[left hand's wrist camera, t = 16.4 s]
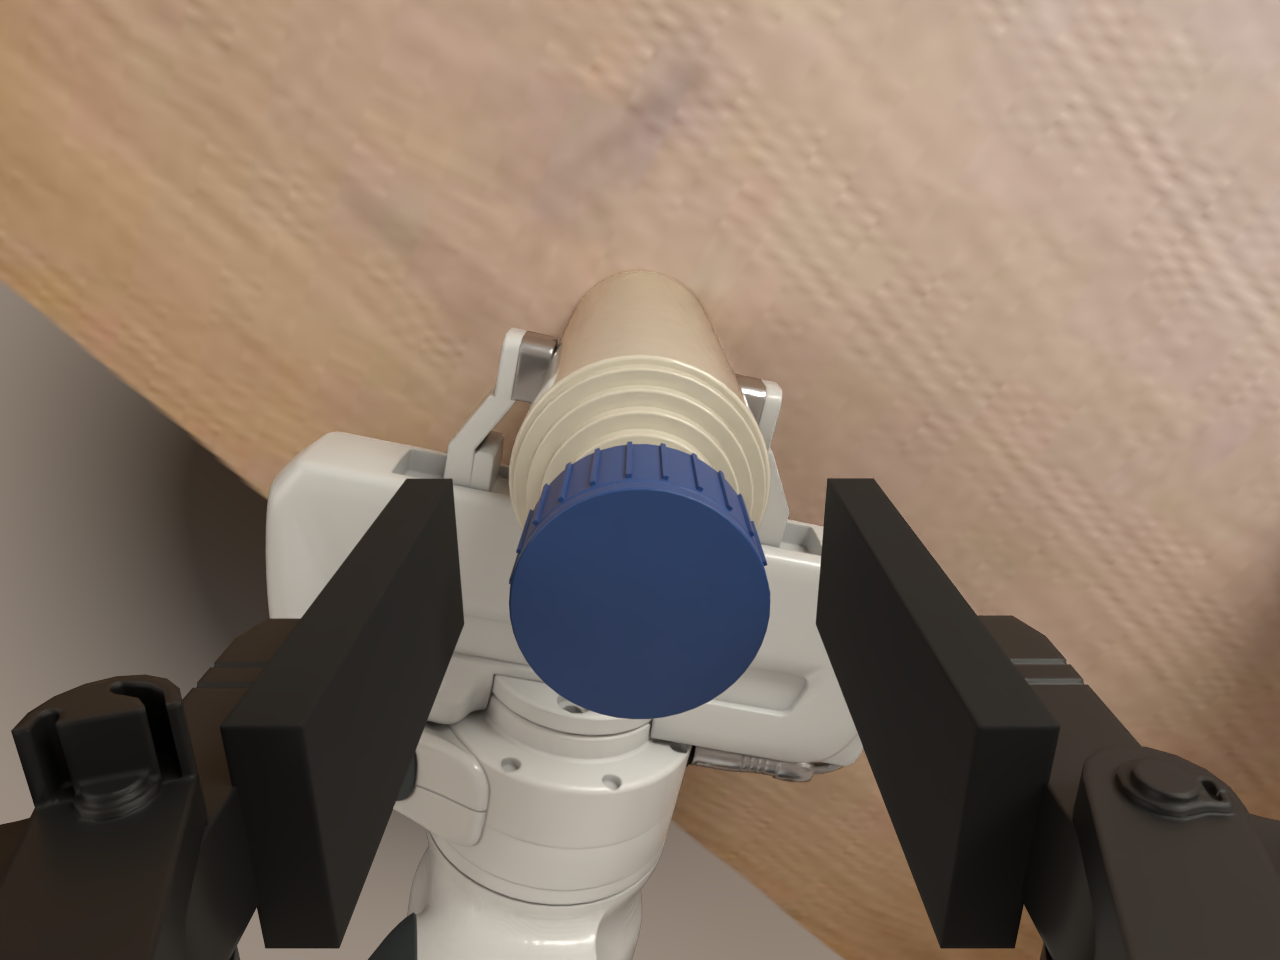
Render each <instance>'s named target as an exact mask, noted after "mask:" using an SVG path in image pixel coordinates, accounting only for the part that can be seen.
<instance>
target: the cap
mask: <svg viewBox="0 0 1280 960" xmlns="http://www.w3.org/2000/svg"><path fill="white" fill-rule="evenodd" d="M516 553H518V554H517V557H516V560H515V563H514V566H513V569H512V573H511V576H510V579H509V584H511V585H510V594H509V612H510V621H511V625H512V630H513V634H514V636H515V639H516V642H517V644H518V647H519V649H520V650H521V652H522V654H523V656H524V658H525V660H526V661H527V663H528V664H529V665H530V667H531V668H532V669H533V671H534V672H535V673H536V674H537V675H538V676H539V678H540V679H541V680H542V681H543V682H544V683H545V684H546V685H547V686H549V687H550V688H551V689H552V690H554V691H555V692H556V693H557V694H559V695H560V696H562V697H564V698H565V699H567V700H568V701H570V702H572V703H574V704H576V705H578V706H580V707H582V708H584V709H587V710H590V711H593V712H596V713H599V714H602V715H607V716H611V717H616V718H625V719H654V718H663V717H668V716H672V715H677V714H681V713H684V712H686V711H689V710H692V709H695V708H697V707H699V706H701V705H703V704H705V703H707V702H709V701H711V700H713V699H714V698H716V697H717V696H719V695H720V694H722V693H723V692H724V691H726V690H727V689H728V688H729V687H730V686H732V685H733V684H734V683H735V682H736V681H737V680H738V679H739V678H740V677H741V676H742V675H743V674H744V672H745V671H746V670H747V669H748V667H749V666H750V664H751V663H752V661H753V660H754V659H755V657H756V655H757V653H758V651H759V649H760V647H761V645H762V643H763V640H764V637H765V634H766V631H767V627H768V622H769V617H770V589H769V584H768V580H767V576H766V572H765V568H764V566H767V561H766V558H765V555H764V552H763V549H762V546H761V543H760V540H759V536H758V533H757V530H756V527H755V524H754V521H750V518H749V514H748V511H747V508H746V505H745V502H744V499H743V496H742V495H741V493H740V494H739V495H737V493H736V492H735V490H734V489H733V488H732V487H731V485H730V484H729V483H728V482H727V481H726V480H725V477H724V474H723V472H722V471H721V470H719V471H718V472H717V471H716V470H714V469H713V468H712V467H710V466H709V465H708V464H706V463H705V462H703V461H701V460H699V459H698V458H697V455H696V454H694V453H692V454H691V455H690V454H687V453H685V452H682V451H679V450H677V449H673V448H669V447H666V444H664V443H661V444H660V446H659V445H651V444H632V441H631V442H627V445H621V446H614V447H610V448H607V449H603V450H600V448H597V449H595V451H594V453H592V454H590V455H587V456H585V457H583V458H582V459H580V460H578V461H576V462H575V463H573V464H571V463H570V462H569V463H568V464H566V467H565V470H564V471H562V472H561V473H560V474H559V475H558V476H557V477H556V478H555V479H554V480H553V481H552V482H551V483H550V484H549V485H548V484H547V483H546V484H545V485H544V486H543V490H542V493H541V496H540V499H539V500H538V502H537V504H536V506H535V508H534V510H531V509H530V511H529V513H528V516H527V519H526V522H525V525H524V528H523V532H522V535H521V538H520V541H519V544H518V547H517V550H516Z"/></svg>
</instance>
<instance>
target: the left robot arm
mask: <svg viewBox="0 0 1280 960" xmlns="http://www.w3.org/2000/svg"><path fill="white" fill-rule="evenodd" d="M463 626H464V612H463V600H462V588H461V576H460V564H459V552H458V540H457V528H456V515H455V503H454V491H453V479H406V480H405V481H404V483H403V484H402V485H401V486H400V488H399V489H398V490H397V492H396V493H395V494H394V496H393V497H392V498H391V500H390V501H389V502H388V504H387V505H386V506H385V508H384V509H383V510H382V512H381V513H380V514H379V516H378V517H377V518H376V520H375V521H374V522H373V524H372V525H371V526H370V528H369V529H368V530H367V532H366V533H365V534H364V535H363V537H362V538H361V539H360V541H359V542H358V543H357V545H356V546H355V547H354V549H353V550H352V551H351V553H350V554H349V555H348V557H347V558H346V559H345V561H344V562H343V563H342V565H341V566H340V567H339V569H338V570H337V571H336V573H335V574H334V575H333V577H332V578H331V579H330V580H329V582H328V583H327V584H326V586H325V587H324V588H323V590H322V591H321V592H320V594H319V595H318V596H317V598H316V599H315V600H314V602H313V603H312V604H311V606H310V607H309V608H308V610H307V611H306V612H305V614H304V615H303V616H302V618H268V619H267V620H265V621H263V622H262V623H260V624H258V625H257V626H255V627H254V628H252V629H250V630H249V631H247V632H245V633H244V634H242V635H241V636H239V637H237V638H236V639H235V640H234V641H233V642H232V643H231V644H230V645H229V647H228V648H227V649H226V650H225V651H224V652H223V654H222V655H221V656H220V657H219V658H218V659H217V660H216V662H215V665H214V668H210V669H209V670H208V671H207V672H206V673H205V674H204V675H203V677H202V678H201V679H200V680H199V681H198V683H197V688H192V689H191V691H190V692H189V693H188V694H187V695H186V696H185V698H184V699H183V700H182V697H181V693H180V688H178V687H177V686H176V685H174V684H173V683H172V682H171V681H169V680H168V679H166V678H160V677H155V676H149V675H131V676H116V677H112V678H108V679H104V680H99V681H95V682H91V683H87V684H84V685H81V686H79V687H76V688H74V689H71V690H69V691H66V692H64V693H62V694H59V695H57V696H54V697H53V698H51V699H49V700H48V701H46V702H45V703H43V704H41V705H40V706H38V707H37V708H35V709H33V710H32V711H30V712H29V713H27V714H26V716H25V717H24V718H23V719H22V720H21V721H20V722H19V723H18V724H17V725H16V726H15V727H14V729H13V730H12V731H11V732H12V735H13V738H14V742H15V745H16V748H17V751H18V754H19V757H20V761H21V764H22V767H23V770H24V774H25V777H26V780H27V783H28V786H29V790H30V793H31V796H32V799H33V803H34V806H35V809H34V811H33V813H32V815H31V817H30V818H28V819H24V820H21V821H16V822H11V823H7V824H2V825H0V960H240V957H239V952H238V948H237V944H238V942H239V940H240V938H241V936H242V934H243V933H244V931H245V929H246V927H247V925H248V923H249V921H250V919H251V917H252V915H253V913H254V912H255V910H256V908H257V910H258V915H259V920H260V924H261V929H262V934H263V939H264V943H265V948H340V945H341V942H342V940H343V937H344V935H345V932H346V929H347V927H348V924H349V922H350V919H351V916H352V914H353V911H354V909H355V906H356V904H357V901H358V898H359V896H360V893H361V891H362V888H363V885H364V883H365V880H366V878H367V875H368V872H369V870H370V867H371V865H372V862H373V859H374V857H375V854H376V852H377V849H378V847H379V844H380V841H381V839H382V836H383V834H384V831H385V828H386V826H387V823H388V821H389V818H390V815H391V813H392V810H393V808H394V805H395V803H396V800H397V797H398V795H399V792H400V790H401V787H402V784H403V782H404V779H405V777H406V774H407V771H408V769H409V766H410V764H411V761H412V759H413V756H414V753H415V751H416V748H417V746H418V743H419V740H420V738H421V735H422V733H423V730H424V727H425V725H426V722H427V720H428V717H429V714H430V712H431V709H432V707H433V704H434V702H435V699H436V696H437V694H438V691H439V689H440V686H441V683H442V681H443V678H444V676H445V673H446V670H447V668H448V665H449V663H450V660H451V658H452V655H453V652H454V650H455V647H456V645H457V642H458V639H459V637H460V634H461V632H462V629H463ZM816 626H817V629H818V632H819V634H820V637H821V639H822V642H823V645H824V647H825V650H826V652H827V655H828V658H829V660H830V663H831V665H832V668H833V670H834V673H835V676H836V678H837V681H838V683H839V686H840V689H841V691H842V694H843V696H844V699H845V702H846V704H847V707H848V709H849V712H850V714H851V717H852V720H853V722H854V725H855V727H856V730H857V733H858V735H859V738H860V740H861V743H862V746H863V748H864V751H865V753H866V756H867V759H868V761H869V764H870V766H871V769H872V771H873V774H874V777H875V779H876V782H877V784H878V787H879V790H880V792H881V795H882V797H883V800H884V803H885V805H886V808H887V810H888V813H889V815H890V818H891V821H892V823H893V826H894V828H895V831H896V834H897V836H898V839H899V841H900V844H901V847H902V849H903V852H904V854H905V857H906V859H907V862H908V865H909V867H910V870H911V872H912V875H913V878H914V880H915V883H916V885H917V888H918V891H919V893H920V896H921V898H922V901H923V904H924V906H925V909H926V911H927V914H928V916H929V919H930V922H931V924H932V927H933V929H934V932H935V935H936V937H937V940H938V942H939V945H940V948H1015V944H1016V939H1017V934H1018V929H1019V924H1020V920H1021V915H1022V910H1023V905H1025V907H1026V909H1027V911H1028V913H1029V915H1030V917H1031V919H1032V921H1033V922H1034V924H1035V926H1036V928H1037V930H1038V932H1039V934H1040V936H1041V938H1042V940H1043V942H1044V943H1043V948H1042V952H1041V957H1040V960H1280V821H1278V820H1273V819H1268V818H1263V817H1260V816H1256V815H1252V814H1249V813H1248V811H1247V809H1246V807H1245V806H1244V804H1243V803H1242V802H1241V801H1240V799H1239V798H1238V797H1237V795H1236V794H1235V793H1234V792H1233V790H1232V789H1231V788H1230V787H1229V786H1228V785H1226V784H1225V783H1224V782H1222V781H1221V780H1220V779H1218V778H1217V777H1216V776H1214V775H1213V774H1211V773H1210V772H1209V771H1207V770H1206V769H1204V768H1202V767H1200V766H1198V765H1196V764H1194V763H1192V762H1189V761H1187V760H1185V759H1183V758H1181V757H1179V756H1177V755H1173V754H1170V753H1166V752H1163V751H1159V750H1155V749H1152V748H1148V747H1142V746H1141V745H1140V744H1139V743H1138V742H1137V741H1136V740H1135V738H1134V737H1133V736H1132V735H1131V734H1130V733H1129V732H1128V730H1127V729H1126V728H1125V727H1124V726H1123V725H1122V723H1121V722H1120V721H1119V720H1118V719H1117V718H1116V717H1115V715H1114V714H1113V713H1112V712H1111V711H1110V710H1109V709H1108V707H1107V706H1106V705H1105V704H1104V703H1103V702H1102V700H1101V699H1100V698H1099V697H1098V696H1097V695H1096V694H1095V692H1094V691H1093V690H1092V689H1091V688H1090V687H1089V686H1088V685H1084V683H1083V679H1082V677H1081V676H1080V675H1079V674H1078V673H1077V672H1076V671H1075V669H1074V668H1073V667H1072V666H1071V665H1067V664H1066V659H1065V658H1064V657H1063V656H1062V654H1061V653H1060V652H1059V651H1058V650H1057V649H1056V648H1055V646H1054V645H1053V644H1052V643H1051V642H1050V641H1049V639H1048V638H1047V637H1046V636H1045V635H1043V634H1041V633H1040V632H1038V631H1036V630H1035V629H1033V628H1032V627H1030V626H1028V625H1027V624H1025V623H1023V622H1022V621H1020V620H1018V619H1017V618H1015V617H1014V616H977V615H976V614H975V612H974V611H973V610H972V608H971V607H970V606H969V604H968V603H967V602H966V600H965V599H964V598H963V596H962V595H961V594H960V592H959V591H958V590H957V588H956V587H955V586H954V584H953V583H952V582H951V580H950V579H949V578H948V577H947V575H946V574H945V573H944V571H943V570H942V569H941V567H940V566H939V565H938V563H937V562H936V561H935V559H934V558H933V557H932V555H931V554H930V553H929V551H928V550H927V549H926V547H925V546H924V545H923V543H922V542H921V541H920V539H919V538H918V537H917V535H916V534H915V533H914V531H913V530H912V529H911V528H910V526H909V525H908V524H907V522H906V521H905V520H904V518H903V517H902V516H901V514H900V513H899V512H898V510H897V509H896V508H895V506H894V505H893V504H892V502H891V501H890V500H889V498H888V497H887V496H886V494H885V493H884V492H883V490H882V489H881V488H880V486H879V485H878V484H877V483H876V481H875V480H874V479H827V491H826V503H825V515H824V528H823V540H822V552H821V564H820V576H819V588H818V600H817V612H816Z"/></svg>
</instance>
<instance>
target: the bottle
mask: <svg viewBox="0 0 1280 960" xmlns="http://www.w3.org/2000/svg"><path fill="white" fill-rule="evenodd" d="M631 441H632V444H651V445H659V446H660V444H661V443H664V444H666V447H669V448H673V449H677V450H679V451H682V452H685V453H687V454H690V455H691V454H692V453H694V454H696V455H697V458H698V459H699V460H701V461H703V462H705V463H706V464H708V465H709V466H710V467H712V468H713V469H714V470H716V471H717V472H718V471H719V470H721V471H722V472H723V474H724V477H725V480H726V481H727V482H728V483H729V484H730V485H731V487H732V488H733V489H734V490H735V492H736V493H737V495H739V494H740V493H741V495H742V496H743V499H744V502H745V505H746V508H747V511H748V514H749V518H750V521H754V524H755V527H756V530H757V531H758V529H759V527H760V524H761V522H762V520H763V517H764V514H765V511H766V507H767V503H768V499H769V491H770V463H769V457H768V451H767V448H766V444H765V441H764V438H763V435H762V433H761V431H760V429H759V426H758V424H757V422H756V420H755V418H754V416H753V413H752V411H751V409H750V407H749V405H748V403H747V400H746V398H745V396H744V394H743V392H742V390H741V388H740V385H739V383H738V381H737V379H736V377H735V375H734V372H733V370H732V368H731V366H730V364H729V362H728V360H727V357H726V355H725V353H724V351H723V349H722V347H721V344H720V342H719V340H718V338H717V336H716V334H715V332H714V329H713V327H712V325H711V323H710V321H709V319H708V316H707V314H706V312H705V310H704V308H703V307H702V305H701V303H700V302H699V300H698V299H697V298H696V297H695V296H694V294H693V293H692V292H691V291H690V290H688V289H687V288H686V287H685V286H684V285H682V284H681V283H679V282H678V281H676V280H674V279H672V278H670V277H668V276H666V275H663V274H660V273H655V272H651V271H629V272H624V273H619V274H616V275H613V276H611V277H609V278H607V279H605V280H603V281H601V282H600V283H598V284H597V285H595V286H594V287H593V288H592V289H591V290H590V291H588V292H587V293H586V295H585V296H584V297H583V298H582V299H581V301H580V302H579V304H578V305H577V307H576V308H575V310H574V313H573V315H572V317H571V319H570V321H569V323H568V325H567V328H566V330H565V332H564V334H563V336H562V338H561V341H560V343H559V345H558V347H557V349H556V351H555V353H554V356H553V358H552V360H551V362H550V364H549V366H548V369H547V371H546V373H545V375H544V377H543V379H542V382H541V384H540V386H539V388H538V390H537V392H536V394H535V397H534V399H533V401H532V403H531V405H530V407H529V410H528V412H527V414H526V416H525V418H524V420H523V423H522V425H521V427H520V429H519V431H518V433H517V436H516V439H515V442H514V445H513V448H512V452H511V458H510V464H509V490H510V498H511V502H512V506H513V510H514V514H515V516H516V519H517V521H518V524H519V526H520V529H521V530H522V532H523V528H524V525H525V522H526V519H527V516H528V513H529V511H530V509H531V510H534V508H535V506H536V504H537V502H538V500H539V499H540V496H541V493H542V490H543V486H544V485H545V484H546V483H547V484H548V485H549V484H550V483H551V482H552V481H553V480H554V479H555V478H556V477H557V476H558V475H559V474H560V473H561V472H562V471H564V470H565V467H566V464H568V463H569V462H570V463H571V464H573V463H575V462H576V461H578V460H580V459H582V458H583V457H585V456H587V455H590V454H592V453H594V451H595V449H597V448H600V450H603V449H607V448H610V447H614V446H621V445H627V442H631Z"/></svg>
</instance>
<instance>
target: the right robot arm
mask: <svg viewBox="0 0 1280 960" xmlns="http://www.w3.org/2000/svg"><path fill="white" fill-rule="evenodd" d="M557 346H558V337H553V336H549V335H544V334H540V333H536V332H531V331H527V330H523V329H517V328H510V329H509V330H508V332H507V333H506V335H505V338H504V342H503V346H502V350H501V356H500V362H499V369H498V375H497V382H496V386H495V387H494V388H493V389H492V390H491V392H490V393H489V394H488V395H487V396H486V398H485V399H484V400H483V401H482V402H481V403H480V405H479V406H478V407H477V408H476V409H475V410H474V412H473V413H472V414H471V415H470V416H469V418H468V419H467V420H466V421H465V422H464V423H463V425H462V426H461V427H460V429H459V430H458V432H457V433H456V435H455V436H454V437H453V439H452V440H451V442H450V443H449V445H448V451H447V453H446V452H441V451H436V450H431V449H426V448H421V447H416V446H411V445H406V444H400V443H395V442H390V441H385V440H380V439H375V438H370V437H365V436H360V435H355V434H350V433H345V432H330V433H327V434H325V435H323V436H322V437H320V438H319V439H317V440H316V441H315V442H313V443H312V444H310V445H309V446H307V447H306V448H304V449H303V450H302V451H300V452H299V453H298V454H297V455H295V456H294V457H293V458H292V459H291V460H290V461H289V462H288V463H287V464H286V465H285V466H284V467H283V468H282V469H281V470H280V472H279V473H278V474H277V476H276V477H275V479H274V481H273V483H272V485H271V488H270V492H269V496H268V506H267V518H266V576H267V594H268V605H269V616H270V618H302V616H303V615H304V614H305V612H306V611H307V610H308V608H309V607H310V606H311V604H312V603H313V602H314V600H315V599H316V598H317V596H318V595H319V594H320V592H321V591H322V590H323V588H324V587H325V586H326V584H327V583H328V582H329V580H330V579H331V578H332V577H333V575H334V574H335V573H336V571H337V570H338V569H339V567H340V566H341V565H342V563H343V562H344V561H345V559H346V558H347V557H348V555H349V554H350V553H351V551H352V550H353V549H354V547H355V546H356V545H357V543H358V542H359V541H360V539H361V538H362V537H363V535H364V534H365V533H366V532H367V530H368V529H369V528H370V526H371V525H372V524H373V522H374V521H375V520H376V518H377V517H378V516H379V514H380V513H381V512H382V510H383V509H384V508H385V506H386V505H387V504H388V502H389V501H390V500H391V498H392V497H393V496H394V494H395V493H396V492H397V490H398V489H399V488H400V486H401V485H402V484H403V483H404V481H405V480H406V479H453V491H454V503H455V515H456V528H457V540H458V552H459V564H460V576H461V588H462V600H463V612H464V626H463V629H462V632H461V634H460V637H459V639H458V642H457V645H456V647H455V650H454V652H453V655H452V658H451V660H450V663H449V665H448V668H447V670H446V673H445V676H444V678H443V681H442V683H441V686H440V689H439V691H438V694H437V696H436V699H435V702H434V704H433V707H432V709H431V712H430V714H429V717H428V720H427V722H426V725H425V727H424V730H423V733H422V735H421V738H420V740H419V743H418V746H417V748H416V751H415V753H414V756H413V759H412V761H411V764H410V766H409V769H408V771H407V774H406V777H405V779H404V782H403V784H402V787H401V790H400V792H399V795H398V797H397V800H396V803H395V805H394V808H393V809H394V810H396V811H397V812H399V813H401V814H403V815H404V816H406V817H408V818H410V819H411V820H413V821H415V822H416V823H418V824H419V825H421V826H422V827H424V828H426V833H427V838H428V844H429V846H428V848H427V850H426V851H425V853H424V855H423V857H422V859H421V861H420V863H419V865H418V868H417V870H416V873H415V876H414V879H413V883H412V887H411V892H410V899H409V906H408V914H407V917H406V918H405V919H404V920H403V921H402V922H400V923H399V924H398V925H397V926H396V927H395V928H394V929H393V930H392V931H391V932H390V933H389V934H388V936H387V937H386V938H385V939H384V940H383V942H382V943H381V944H380V945H379V947H378V948H377V949H376V950H375V951H374V953H373V954H372V955H371V956H370V958H369V959H368V960H632V958H633V955H634V951H635V948H636V944H637V941H638V937H639V932H640V927H641V920H642V896H641V889H642V887H643V886H644V885H645V883H646V882H647V880H648V879H649V877H650V876H651V874H652V873H653V871H654V870H655V867H656V865H657V863H658V861H659V859H660V857H661V854H662V850H663V847H664V844H665V840H666V836H667V833H668V829H669V826H670V822H671V819H672V815H673V812H674V808H675V804H676V801H677V797H678V793H679V791H680V787H681V784H682V780H683V776H684V772H685V769H686V766H688V764H690V765H696V766H702V767H708V768H713V769H719V770H725V771H733V772H746V771H747V772H750V773H753V772H754V773H759V774H760V773H762V774H765V775H770V776H772V777H773V778H776V779H779V780H783V781H789V782H808V781H810V780H811V779H812V777H813V774H823V773H828V772H832V771H835V770H838V769H840V768H842V767H844V766H849V765H851V764H853V763H854V762H855V761H856V760H857V758H858V757H859V756H860V754H861V752H862V750H863V746H862V743H861V740H860V738H859V735H858V733H857V730H856V727H855V725H854V722H853V720H852V717H851V714H850V712H849V709H848V707H847V704H846V702H845V699H844V696H843V694H842V691H841V689H840V686H839V683H838V681H837V678H836V676H835V673H834V670H833V668H832V665H831V663H830V660H829V658H828V655H827V652H826V650H825V647H824V645H823V642H822V639H821V637H820V634H819V632H818V629H817V626H816V612H817V600H818V588H819V576H820V564H821V552H822V540H823V528H824V526H819V525H814V524H809V523H803V522H798V521H793V520H788V516H789V513H790V511H789V508H788V504H787V501H786V497H785V494H784V490H783V487H782V483H781V480H780V476H779V473H778V469H777V466H776V462H775V459H774V455H773V452H772V450H771V448H770V444H771V441H772V437H773V434H774V430H775V426H776V423H777V419H778V415H779V412H780V408H781V404H782V390H781V388H780V387H779V385H778V384H777V382H772V381H767V380H762V379H758V378H753V377H748V376H743V375H737V374H734V375H735V377H736V379H737V381H738V383H739V385H740V388H741V390H742V392H743V394H744V396H745V398H746V400H747V403H748V405H749V407H750V409H751V411H752V413H753V416H754V418H755V420H756V422H757V424H758V426H759V429H760V431H761V433H762V435H763V438H764V441H765V444H766V448H767V451H768V457H769V463H770V491H769V499H768V503H767V507H766V511H765V514H764V517H763V520H762V522H761V524H760V527H759V529H758V531H757V533H758V536H759V540H760V543H761V546H762V549H763V552H764V555H765V558H766V561H767V566H764V568H765V572H766V576H767V580H768V584H769V589H770V617H769V622H768V627H767V631H766V634H765V637H764V640H763V643H762V645H761V647H760V649H759V651H758V653H757V655H756V657H755V659H754V660H753V661H752V663H751V664H750V666H749V667H748V669H747V670H746V671H745V672H744V674H743V675H742V676H741V677H740V678H739V679H738V680H737V681H736V682H735V683H734V684H733V685H732V686H730V687H729V688H728V689H727V690H726V691H724V692H723V693H722V694H720V695H719V696H717V697H716V698H714V699H713V700H711V701H709V702H707V703H705V704H703V705H701V706H699V707H697V708H695V709H692V710H689V711H686V712H684V713H681V714H677V715H672V716H668V717H663V718H654V719H625V718H616V717H611V716H607V715H602V714H599V713H596V712H593V711H590V710H587V709H584V708H582V707H580V706H578V705H576V704H574V703H572V702H570V701H568V700H567V699H565V698H564V697H562V696H560V695H559V694H557V693H556V692H555V691H554V690H552V689H551V688H550V687H549V686H547V685H546V684H545V683H544V682H543V681H542V680H541V679H540V678H539V676H538V675H537V674H536V673H535V672H534V671H533V669H532V668H531V667H530V665H529V664H528V663H527V661H526V660H525V658H524V656H523V654H522V652H521V650H520V649H519V647H518V644H517V642H516V639H515V636H514V634H513V630H512V625H511V621H510V612H509V594H510V585H511V584H509V579H510V576H511V573H512V569H513V566H514V563H515V560H516V557H517V554H518V553H516V550H517V547H518V544H519V541H520V538H521V535H522V530H521V529H520V526H519V524H518V521H517V519H516V516H515V514H514V510H513V506H512V502H511V498H510V490H509V465H508V464H503V463H501V457H502V450H503V443H504V436H503V434H502V433H498V432H493V431H491V430H492V429H493V428H494V427H495V425H496V424H497V423H498V422H499V421H500V419H501V418H502V417H503V416H504V415H505V414H506V412H507V411H508V410H509V409H510V408H511V407H512V405H513V404H514V403H515V402H516V400H518V401H524V402H529V403H532V401H533V399H534V397H535V394H536V392H537V390H538V388H539V386H540V384H541V382H542V379H543V377H544V375H545V373H546V371H547V369H548V366H549V364H550V362H551V360H552V358H553V356H554V353H555V351H556V349H557Z"/></svg>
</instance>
